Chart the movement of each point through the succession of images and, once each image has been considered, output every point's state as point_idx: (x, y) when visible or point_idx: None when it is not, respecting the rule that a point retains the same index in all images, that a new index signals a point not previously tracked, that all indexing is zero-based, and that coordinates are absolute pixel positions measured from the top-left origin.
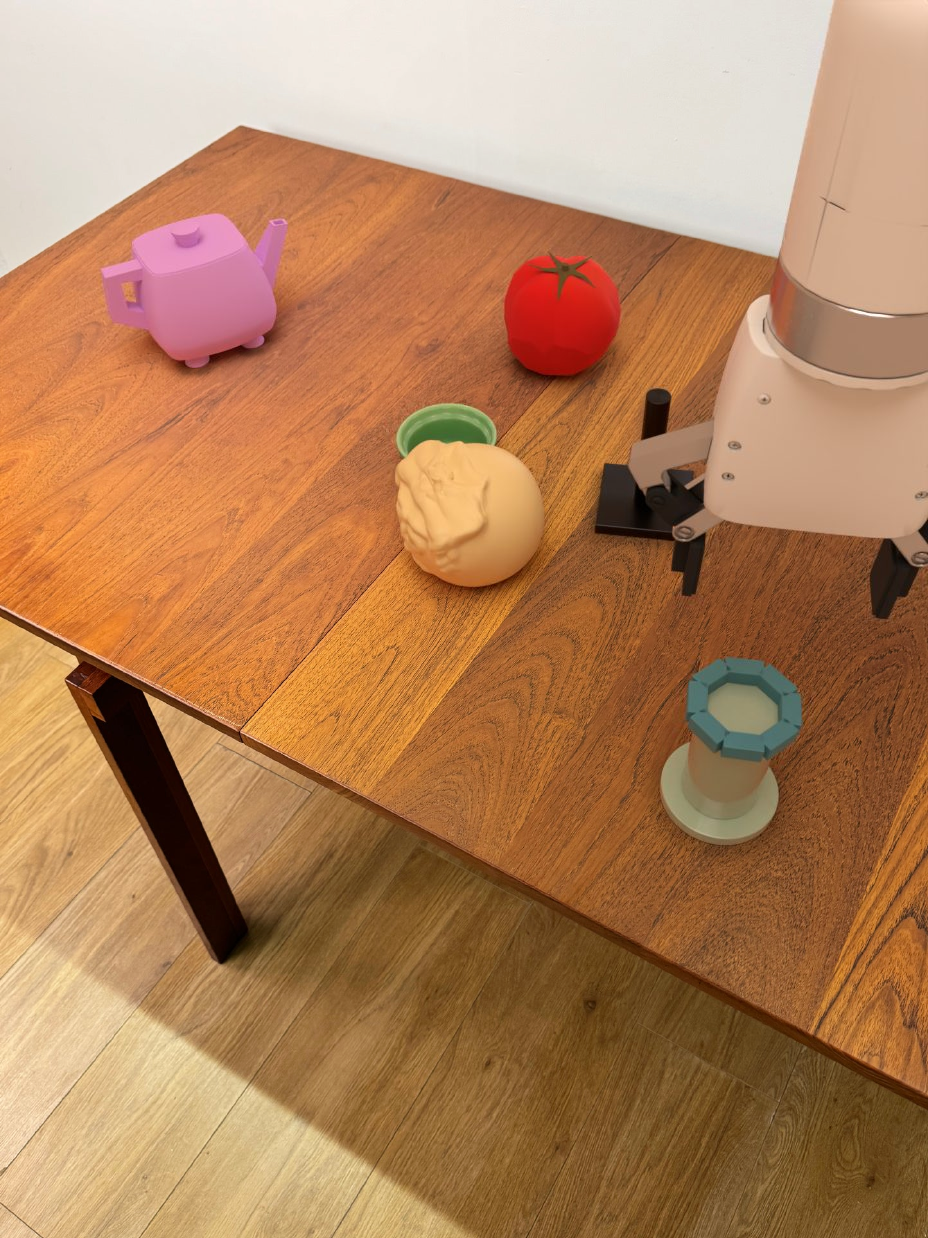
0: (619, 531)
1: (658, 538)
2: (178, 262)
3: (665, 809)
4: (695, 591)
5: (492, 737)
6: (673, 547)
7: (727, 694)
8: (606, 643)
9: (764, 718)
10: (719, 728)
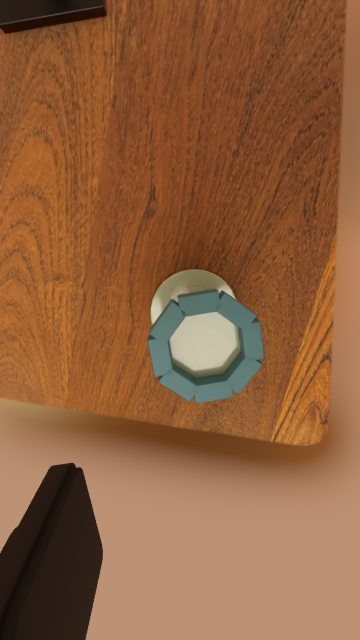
0: (28, 25)
1: (74, 20)
2: None
3: None
4: (99, 567)
5: (17, 318)
6: (12, 532)
7: (187, 325)
8: (69, 191)
9: (226, 342)
10: (188, 386)
